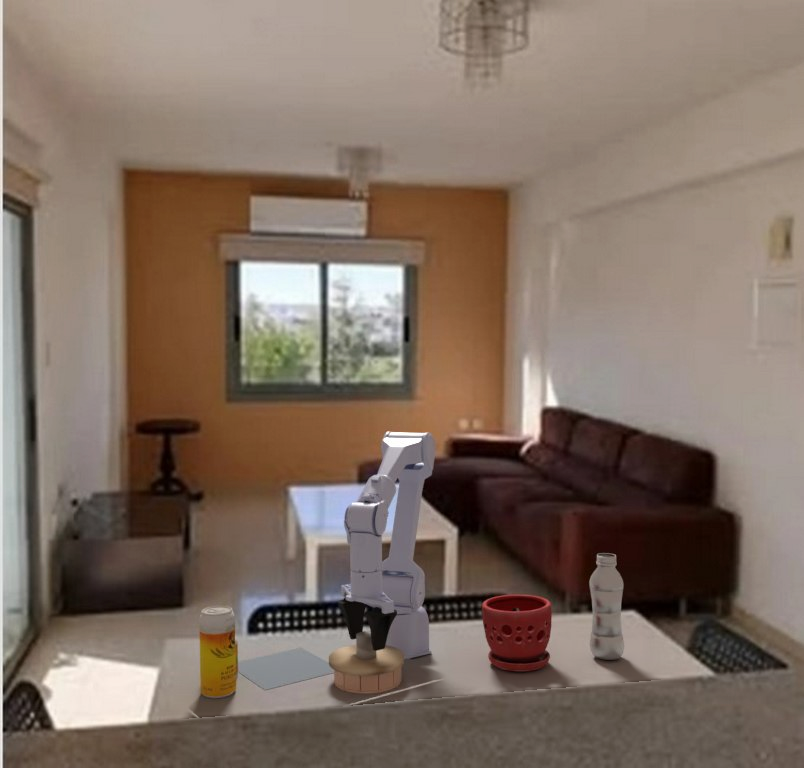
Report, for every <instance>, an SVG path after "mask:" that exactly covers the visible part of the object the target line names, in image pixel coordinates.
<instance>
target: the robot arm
mask: <svg viewBox="0 0 804 768" xmlns="http://www.w3.org/2000/svg"><path fill="white" fill-rule="evenodd" d="M380 447H381V449H380V450H381V455H382V461H381V464H380V465H379V468H378V471H377V474H374V475H372V476H370V477H369V478H368V480H367V481H366V483H365V486H364V487H363V488H362V491H361V492H360V495H359V496H358V498H357V500H356V501H353V502H352V503H351V504H349V505H347V506H346V509H345V513H344V517H343V518H344V519H343V527H344V531H345V532H346V542H347V544H348V545H349V547H350V548H349V556H350V558H349V560H350V563H349V566H350V567H349V568H350V583H348V584H342V585H340V596H341V597H343V599H339V600H337V605H338V607H339V609H340V611H341V613H342V615H343V617H344V620H345V623H346V627H347V631H348V634H349V638H350V640H356V634H357V633H359V632H364V618H366V620H367V623H368V625H369V626H368V627H369V630H370V632H371V641H372V647H373V650H375V651H377V650H381V649H385V645H387V646H391V647H394V648H397V649H399V650H401V651H402V652H403V654H404V660H408V659H414V658H417V657H421V656H422V657H423V656H425V655H429V654H432V653H433V652H432V650H431V649H430V621H429V620H430V619H429V615H428V613H427V611H426V609H425V608H424V607H423V603H424V601H425V594H426V587H425V586H426V585H425V581H426V580H425V579H426V575H425V572H424V570H423V569H422V568H421V567H420V566H419V565H418V564H417V563H416V562H415V561H414V555H415V549H416V541H417V540H416V539H417V534H418V526H419V525H418V524H419V517H420V511H421V510H420V509H421V503H422V494H423V490H424V489H423V488H424V484H425V480H426V479H428V478H429V477H431V476H432V475H433V470H434V463H435V456H436V444H435V439H434V435H433V434H432V433H431V432H430V431H427V432H404V431H403V432H401V431H399V432H397V431H391V430H390V431H389V430H388V431H386V432H385V434H384V435H383V437H382V439H381V446H380ZM397 480H398V482H399V484H398V490H397V487H396V484H395V483H396V481H397ZM396 494H397V498H396V504H395V505H396V506H395V511H394V519H393V525H392V531H391V532H392V533H391V539H390V547H389V554H388V557H387V558H386V559H384V560H383V543H382V542H383V541H382V540H383V537H382V536H383V534H384V533H385V531H386V528H387V525H388V517H389V508H390V505H391V503H392V502H393V500H394V497H395V496H396ZM367 606H369V607H371V608H374V610H370V611H369V610H368V611H366V608H367Z"/></svg>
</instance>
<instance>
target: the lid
mask: <svg viewBox="0 0 804 768" xmlns="http://www.w3.org/2000/svg"><path fill="white" fill-rule="evenodd" d="M355 642H356V644H352V645H347V646H343V647H340V648H337V649H334V650H333V651H332V652H331V653H330V654H329V655H328V663H329V666H330V667H331V668H332V669H333V670H335V671H337V672H340V673H344V674H349V675H359V676H369V675H379V674H385V673H389V672H392V671H395V670H397V669H399V668H400V667H401V668H402V667H403V665H404V664H405V659H404V654H403V652H402V651H401V650H399V649H397V648H394V647H391V646H387V645H385V649H381V650H377V651H375V650H373V647H372V641H371V631H368V630H367V631H364V630H363V632H359V633H357V634H356V639H355Z"/></svg>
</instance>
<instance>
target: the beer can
mask: <svg viewBox="0 0 804 768" xmlns="http://www.w3.org/2000/svg"><path fill="white" fill-rule="evenodd" d="M235 615H236V614H235V613H234V610H233V608H232V607H231V606H228V605H211V606H207V607H204V608H203V609H201V613H200V615H199V619H198V621H199V622H198V623H199V625H198V627H199V665H200V666H199V668H200V675H199V676H200V677H199V678H200V693H201V694H202V696H204V697H206V698H208V699H222V698H227V697H230V696H232V695H233V694H234V693H235V691H236V690H237V677H236V654H235V636H236V619H235V618H236V616H235Z"/></svg>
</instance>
